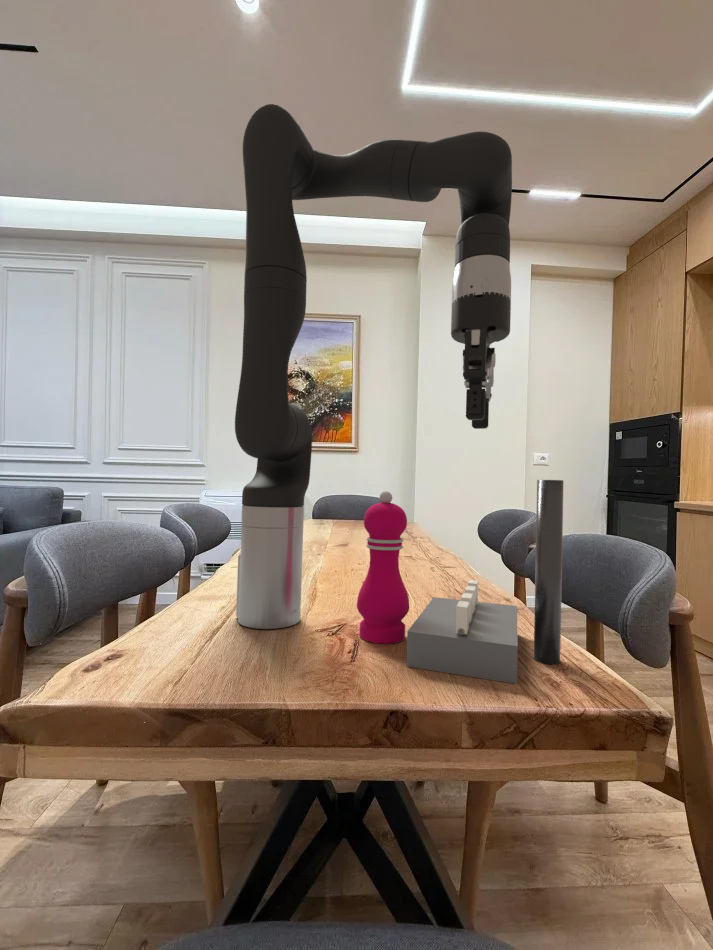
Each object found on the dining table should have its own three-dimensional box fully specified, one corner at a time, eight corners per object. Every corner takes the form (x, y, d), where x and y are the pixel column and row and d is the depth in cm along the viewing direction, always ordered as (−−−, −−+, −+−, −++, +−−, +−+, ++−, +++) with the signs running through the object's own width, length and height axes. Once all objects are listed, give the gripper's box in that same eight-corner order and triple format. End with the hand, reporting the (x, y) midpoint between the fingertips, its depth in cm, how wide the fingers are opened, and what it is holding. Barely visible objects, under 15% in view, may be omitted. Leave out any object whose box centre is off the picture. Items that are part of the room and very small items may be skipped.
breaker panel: (406, 666, 53) (407, 631, 53) (432, 623, 70) (433, 597, 70) (516, 683, 49) (517, 646, 49) (516, 633, 66) (516, 606, 66)
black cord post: (529, 658, 56) (532, 479, 57) (540, 653, 58) (543, 480, 59) (554, 666, 54) (557, 479, 55) (564, 660, 56) (567, 480, 57)
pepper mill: (405, 647, 59) (409, 492, 59) (351, 642, 60) (355, 490, 61) (410, 630, 66) (414, 491, 66) (361, 626, 67) (365, 490, 68)
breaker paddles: (455, 634, 52) (456, 606, 52) (469, 601, 67) (469, 579, 67) (466, 636, 51) (467, 607, 52) (477, 602, 67) (478, 580, 67)
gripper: (457, 322, 68) (455, 431, 68) (444, 281, 55) (440, 416, 54) (511, 318, 66) (508, 430, 65) (510, 274, 52) (507, 415, 52)
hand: (477, 424), depth 60 cm, fingers open, 8 cm apart
